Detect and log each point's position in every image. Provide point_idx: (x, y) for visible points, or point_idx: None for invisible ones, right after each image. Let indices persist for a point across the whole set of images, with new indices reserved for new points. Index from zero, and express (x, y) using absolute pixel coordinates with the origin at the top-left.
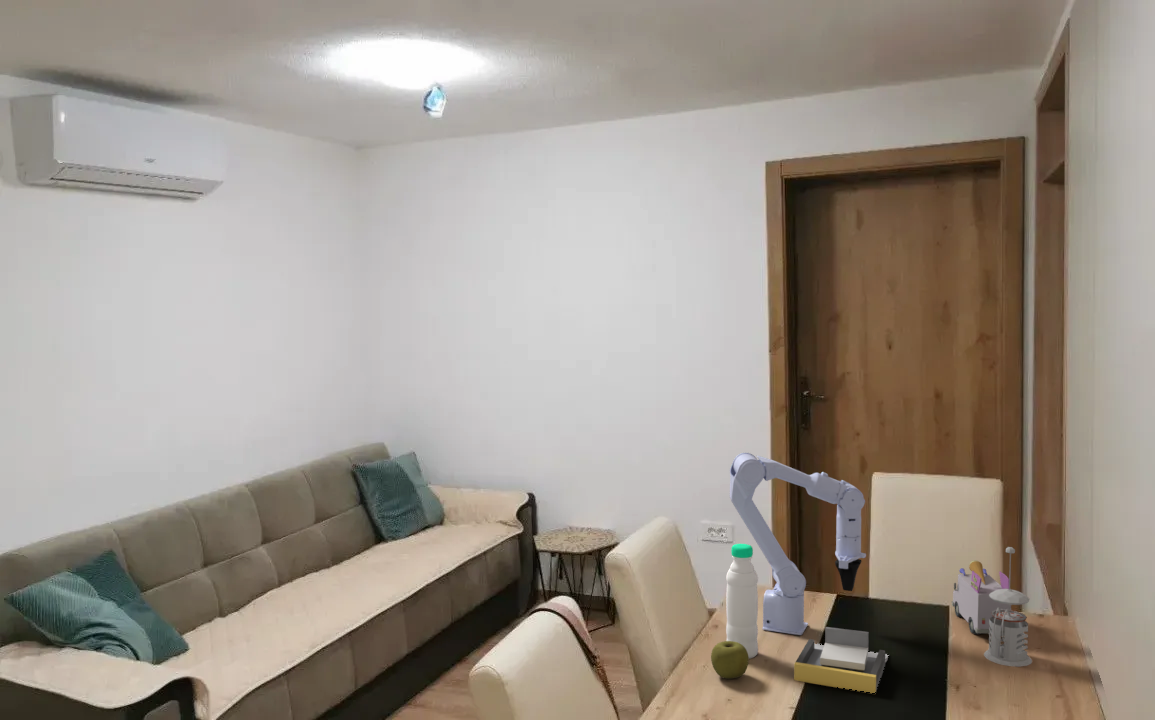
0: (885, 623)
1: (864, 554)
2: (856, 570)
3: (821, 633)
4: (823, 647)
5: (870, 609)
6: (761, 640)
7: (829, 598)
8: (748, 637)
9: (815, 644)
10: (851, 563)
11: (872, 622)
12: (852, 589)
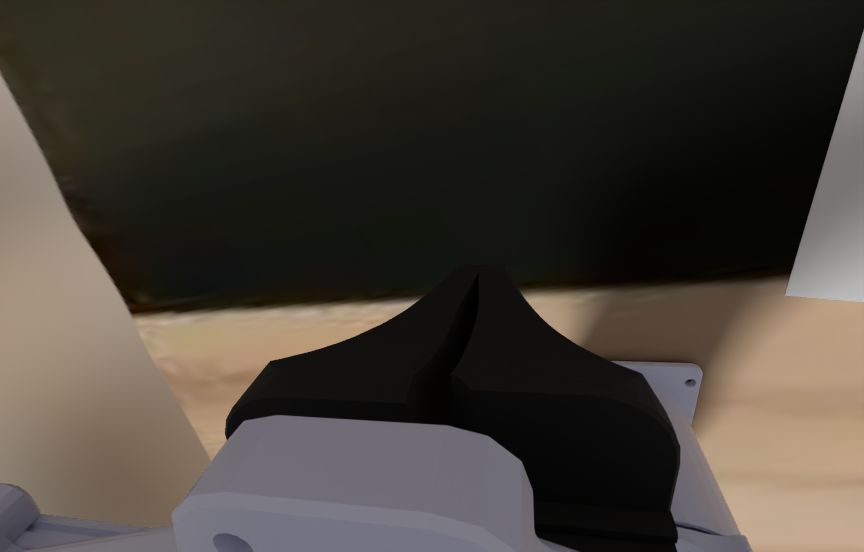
0: (328, 21)
1: (360, 547)
2: (609, 362)
3: (627, 292)
4: None
5: (186, 151)
6: (796, 477)
7: (187, 332)
8: None
9: (835, 292)
10: (594, 529)
11: (353, 96)
12: (501, 266)
